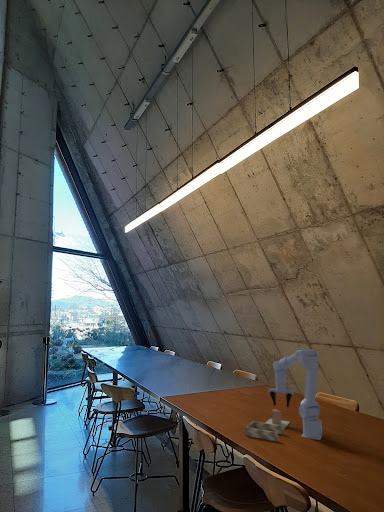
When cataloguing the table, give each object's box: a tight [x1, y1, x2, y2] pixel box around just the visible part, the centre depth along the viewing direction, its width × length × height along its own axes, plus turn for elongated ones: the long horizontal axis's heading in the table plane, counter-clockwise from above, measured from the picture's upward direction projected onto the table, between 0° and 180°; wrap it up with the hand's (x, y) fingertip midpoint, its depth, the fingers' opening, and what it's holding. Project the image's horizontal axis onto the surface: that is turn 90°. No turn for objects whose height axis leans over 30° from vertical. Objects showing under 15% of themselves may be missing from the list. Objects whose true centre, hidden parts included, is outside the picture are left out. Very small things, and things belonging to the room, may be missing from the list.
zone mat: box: [265, 418, 291, 429], centre depth 207 cm, size 12×12×1 cm
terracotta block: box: [271, 408, 282, 425], centre depth 207 cm, size 4×4×7 cm
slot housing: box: [244, 421, 285, 442], centre depth 188 cm, size 17×13×4 cm
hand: (281, 406), depth 210 cm, fingers open, 7 cm apart
